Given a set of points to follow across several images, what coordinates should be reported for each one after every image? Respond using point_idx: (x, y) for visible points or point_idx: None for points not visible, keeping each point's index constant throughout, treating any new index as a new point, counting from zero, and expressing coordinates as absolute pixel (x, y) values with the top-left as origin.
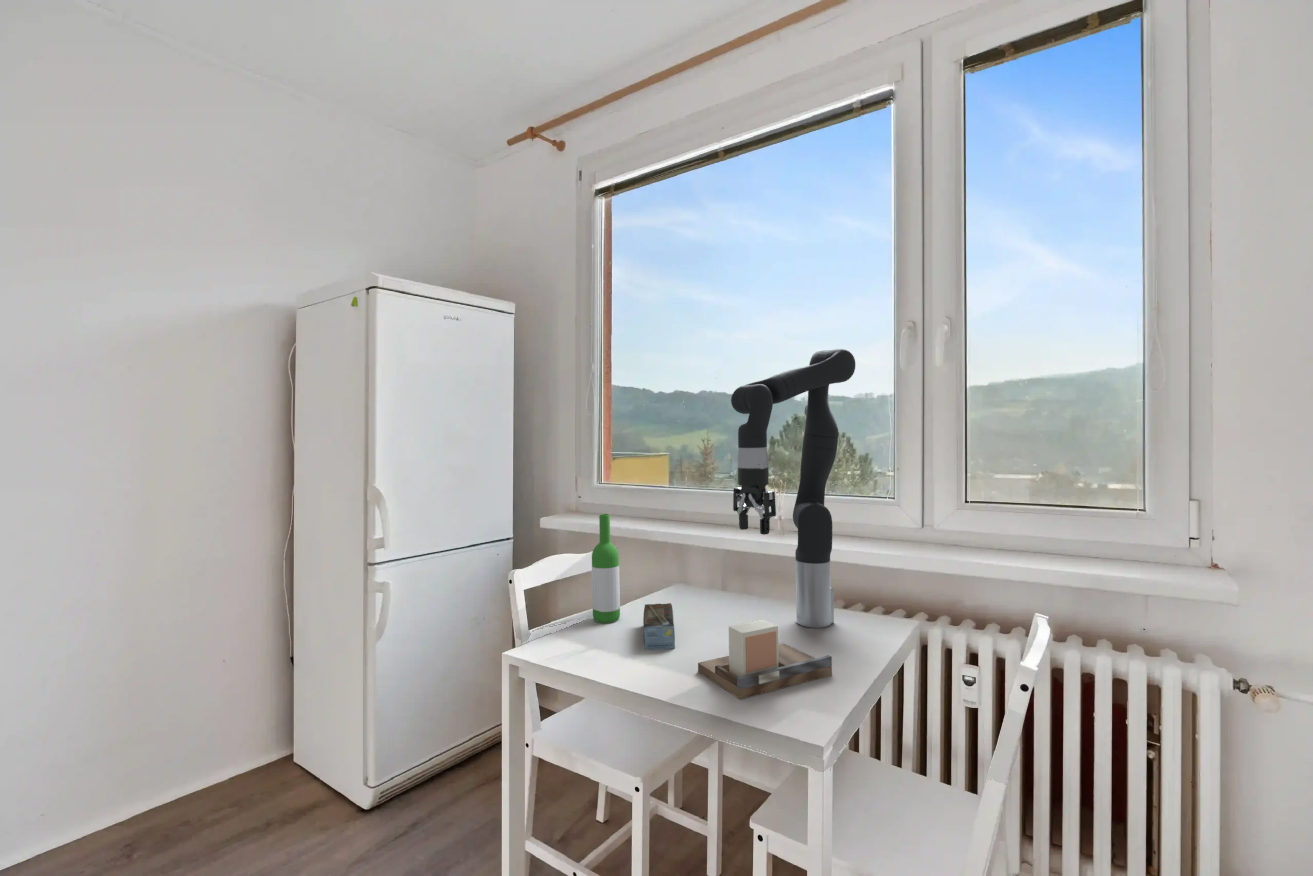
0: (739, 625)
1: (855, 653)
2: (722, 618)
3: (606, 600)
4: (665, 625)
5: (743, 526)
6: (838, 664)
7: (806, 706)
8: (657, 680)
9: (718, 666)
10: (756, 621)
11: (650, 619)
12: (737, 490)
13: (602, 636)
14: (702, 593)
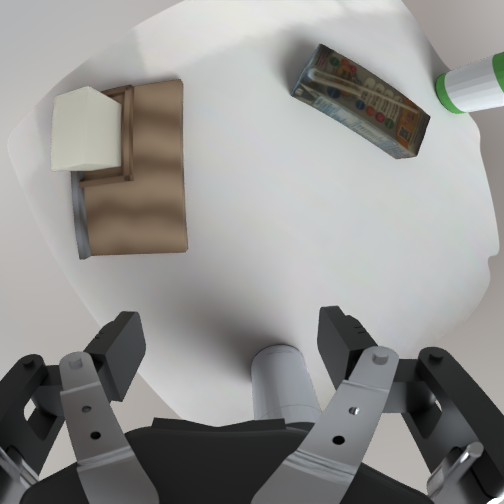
0: (81, 105)
1: (143, 332)
2: (380, 254)
3: (455, 74)
4: (307, 71)
5: (323, 327)
6: (117, 285)
7: (44, 167)
8: (188, 29)
9: (126, 88)
10: (82, 145)
11: (355, 72)
12: (490, 483)
13: (388, 46)
14: (472, 292)
